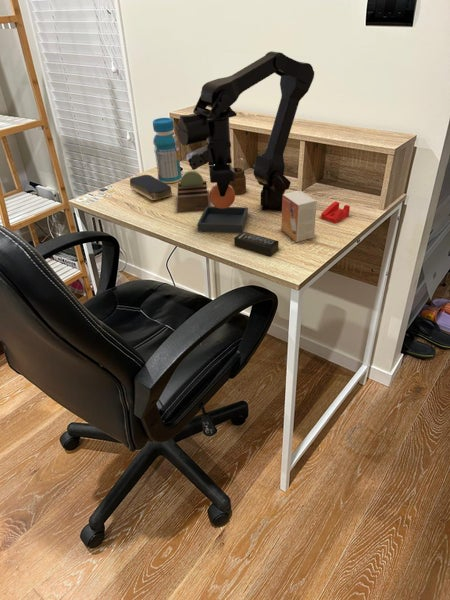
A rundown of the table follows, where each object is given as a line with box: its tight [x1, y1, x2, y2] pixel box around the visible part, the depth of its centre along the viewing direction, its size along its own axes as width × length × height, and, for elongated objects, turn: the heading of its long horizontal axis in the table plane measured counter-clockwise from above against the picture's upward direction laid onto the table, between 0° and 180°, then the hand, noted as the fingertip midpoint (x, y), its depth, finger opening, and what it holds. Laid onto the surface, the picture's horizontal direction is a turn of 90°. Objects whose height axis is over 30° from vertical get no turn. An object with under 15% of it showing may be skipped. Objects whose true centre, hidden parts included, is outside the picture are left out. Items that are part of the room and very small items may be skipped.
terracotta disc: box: [209, 183, 236, 209], centre depth 124 cm, size 7×1×7 cm, turn 94°
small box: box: [280, 190, 318, 243], centre depth 118 cm, size 8×6×10 cm
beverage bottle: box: [152, 117, 183, 184], centre depth 153 cm, size 8×8×20 cm
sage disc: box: [180, 170, 204, 186], centre depth 141 cm, size 7×1×7 cm, turn 94°
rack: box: [176, 180, 211, 214], centre depth 140 cm, size 10×12×5 cm
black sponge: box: [129, 174, 173, 201], centre depth 148 cm, size 16×8×4 cm, turn 37°
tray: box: [197, 205, 249, 234], centre depth 128 cm, size 12×11×2 cm
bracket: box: [320, 201, 351, 224], centre depth 127 cm, size 6×5×3 cm
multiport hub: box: [233, 231, 280, 257], centre depth 116 cm, size 4×11×2 cm, turn 54°
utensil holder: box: [227, 158, 247, 195], centre depth 143 cm, size 6×6×12 cm
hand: (222, 195), depth 124 cm, fingers closed on terracotta disc, 1 cm apart
